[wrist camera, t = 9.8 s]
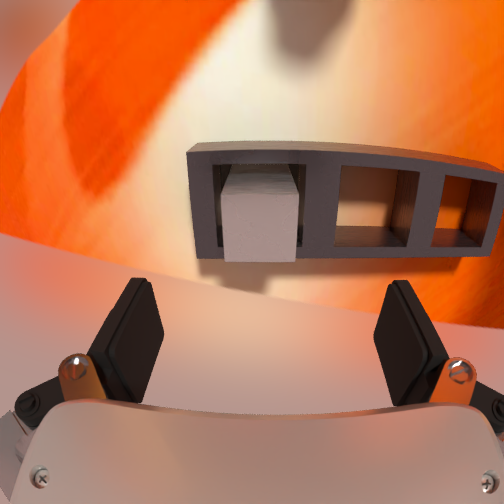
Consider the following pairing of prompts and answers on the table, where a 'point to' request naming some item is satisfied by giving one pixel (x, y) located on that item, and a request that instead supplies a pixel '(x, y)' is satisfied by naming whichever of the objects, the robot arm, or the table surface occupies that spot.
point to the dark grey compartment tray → (327, 196)
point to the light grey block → (259, 213)
